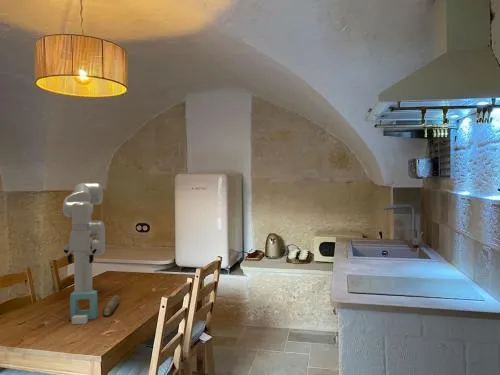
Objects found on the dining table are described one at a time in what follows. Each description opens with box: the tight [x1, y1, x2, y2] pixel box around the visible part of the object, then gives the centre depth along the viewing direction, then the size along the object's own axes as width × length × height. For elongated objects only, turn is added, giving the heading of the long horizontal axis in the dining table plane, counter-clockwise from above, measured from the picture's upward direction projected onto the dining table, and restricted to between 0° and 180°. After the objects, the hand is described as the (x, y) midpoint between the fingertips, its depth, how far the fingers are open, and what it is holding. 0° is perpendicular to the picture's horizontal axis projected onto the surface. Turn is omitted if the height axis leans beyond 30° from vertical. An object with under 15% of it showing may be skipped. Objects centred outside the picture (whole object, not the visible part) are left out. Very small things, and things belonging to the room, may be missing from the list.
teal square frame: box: [69, 290, 98, 321], centre depth 190 cm, size 5×11×12 cm, turn 98°
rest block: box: [71, 315, 89, 325], centre depth 183 cm, size 3×6×3 cm, turn 97°
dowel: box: [102, 295, 121, 317], centre depth 202 cm, size 22×4×4 cm, turn 8°
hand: (80, 262), depth 196 cm, fingers open, 9 cm apart
